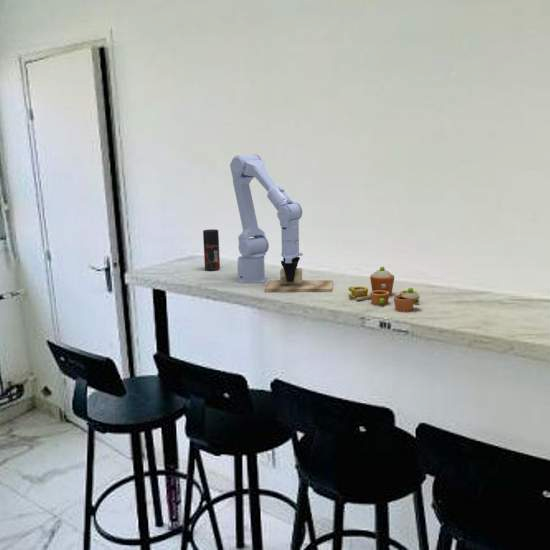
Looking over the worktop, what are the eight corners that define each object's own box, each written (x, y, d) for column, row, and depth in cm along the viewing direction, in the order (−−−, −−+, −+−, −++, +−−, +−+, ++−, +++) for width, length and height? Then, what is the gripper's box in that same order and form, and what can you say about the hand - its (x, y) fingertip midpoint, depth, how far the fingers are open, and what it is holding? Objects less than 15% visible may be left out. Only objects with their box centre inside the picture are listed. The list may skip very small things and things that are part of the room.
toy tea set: (341, 299, 187) (341, 268, 185) (377, 291, 196) (377, 262, 194) (403, 317, 166) (404, 283, 164) (440, 308, 175) (442, 275, 173)
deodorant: (210, 266, 240) (209, 229, 237) (223, 267, 237) (221, 229, 234) (201, 269, 235) (199, 231, 232) (214, 270, 232) (212, 232, 229)
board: (264, 291, 197) (264, 288, 197) (269, 283, 209) (269, 280, 209) (332, 292, 194) (332, 288, 194) (333, 283, 206) (333, 280, 206)
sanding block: (280, 285, 200) (280, 270, 199) (281, 282, 204) (281, 268, 203) (301, 285, 199) (301, 270, 198) (302, 282, 203) (302, 268, 202)
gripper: (300, 243, 191) (301, 285, 194) (304, 236, 205) (304, 275, 208) (278, 243, 192) (279, 285, 195) (283, 236, 206) (284, 275, 209)
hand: (290, 280), depth 201 cm, fingers closed on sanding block, 4 cm apart
